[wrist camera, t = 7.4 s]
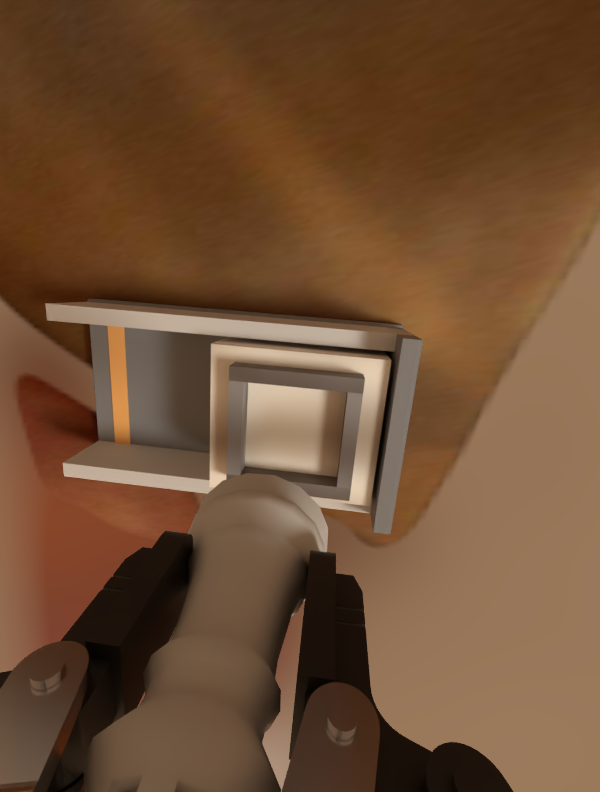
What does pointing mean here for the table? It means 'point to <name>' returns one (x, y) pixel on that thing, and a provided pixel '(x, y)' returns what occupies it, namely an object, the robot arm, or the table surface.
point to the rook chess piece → (219, 649)
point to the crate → (298, 415)
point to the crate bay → (191, 384)
